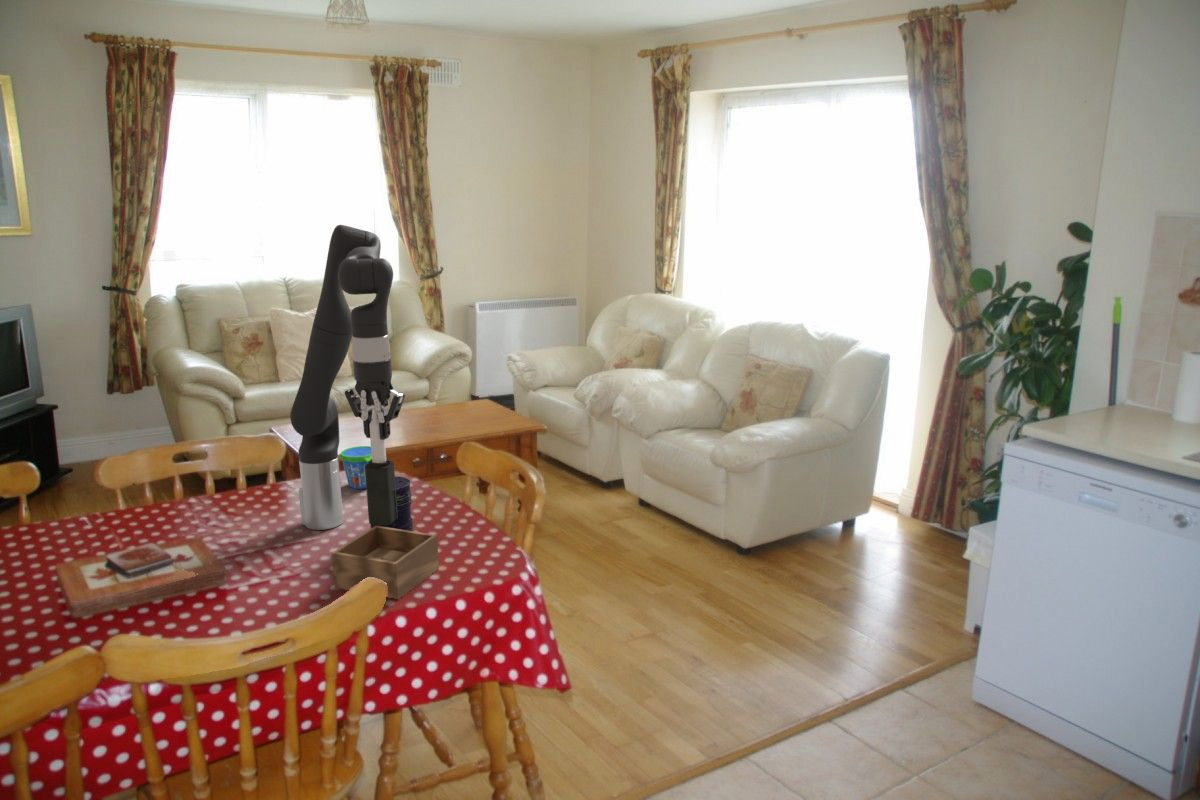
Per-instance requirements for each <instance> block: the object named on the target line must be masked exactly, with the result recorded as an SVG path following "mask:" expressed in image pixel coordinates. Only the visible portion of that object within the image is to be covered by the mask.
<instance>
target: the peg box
mask: <svg viewBox="0 0 1200 800" xmlns="http://www.w3.org/2000/svg"><path fill="white" fill-rule="evenodd" d="M439 561H440V560H439V545H438V534H437V535H436V534H432V533H426V532H425V533H424V532H419V531H407V530H401V529H395V528H388V527H382V526H374V527H373V528H371V527H370V529H367V530H366V531H365V532H363V533H361V534H359V535H358V536H357V537H355V538H353V539H352V540H350V541H348V542H346V543H345V544H344V545H342V546H340V547H338V548H337V549H335V550H334V551H332V552H331V563H332V574H333V575H332V578H333V587H334V589H340V590H345V591H349V590H348V589H350V588H351V587H353V586H354V585H356V584H358V583H359V582H360V581H362V580H363V579H365V578H367V577H375V578H378V579H381V580H383V581H384V582H386V583H387V586H388V599H391V598H394V599H393V600H397V599H398V600H397V601H399V600H400V599H402V598H403V597H404V596H406V595H407V594H408V593H409V592H411V591H412V590H413V589H414V588H416V587H417V586H418V585H420V584H421V583H422V582H423V581H425V580H426V579H428V578H429V577H430V576H432V575H433V574H435V572H437V571H438V570H439V569H440V566H439V565H440V564H439ZM436 570H437V571H436ZM432 573H433V574H432ZM428 576H429V577H428ZM415 586H416V587H415ZM410 590H411V591H410ZM401 597H402V598H401Z"/></svg>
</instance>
